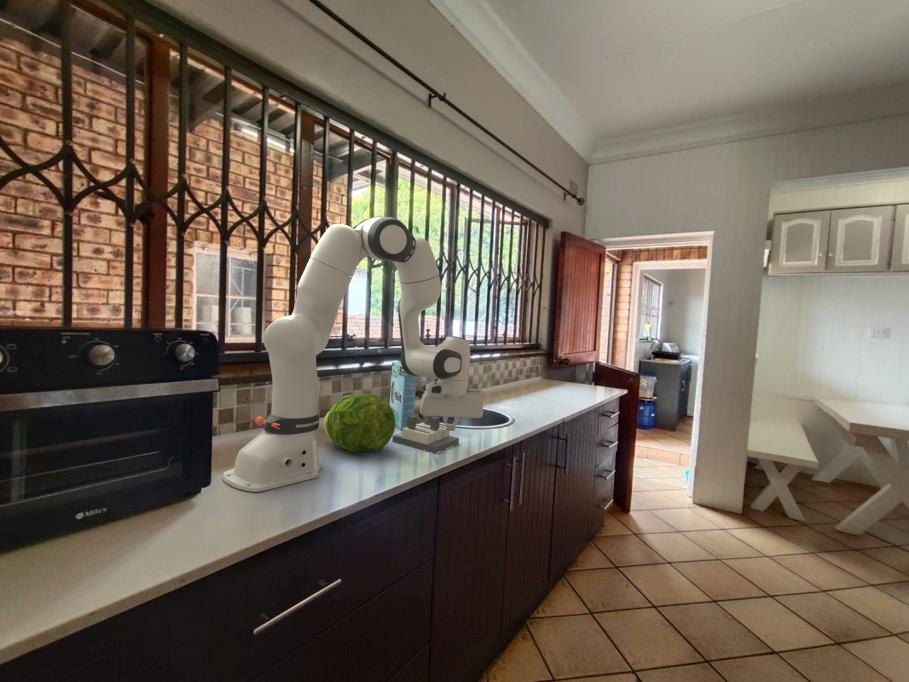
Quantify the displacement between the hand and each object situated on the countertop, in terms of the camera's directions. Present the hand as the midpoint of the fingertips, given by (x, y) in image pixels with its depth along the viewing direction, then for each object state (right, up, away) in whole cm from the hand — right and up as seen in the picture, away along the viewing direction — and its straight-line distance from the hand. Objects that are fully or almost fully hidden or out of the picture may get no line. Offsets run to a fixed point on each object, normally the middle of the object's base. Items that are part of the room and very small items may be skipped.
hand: (450, 430), depth 129 cm
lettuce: (-29, -4, -7) cm, 30 cm away
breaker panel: (-8, -5, +5) cm, 11 cm away
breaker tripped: (-5, 0, +3) cm, 6 cm away
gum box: (-20, -4, +27) cm, 34 cm away
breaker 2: (-8, 0, +10) cm, 13 cm away
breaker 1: (-13, 0, +2) cm, 13 cm away
